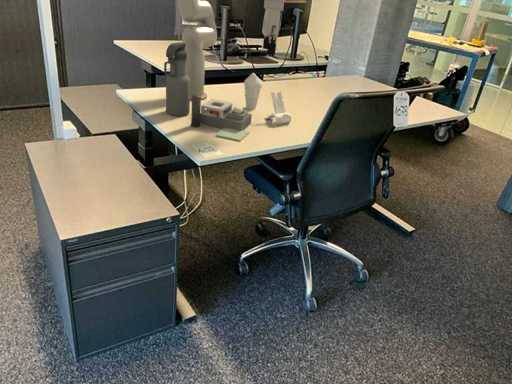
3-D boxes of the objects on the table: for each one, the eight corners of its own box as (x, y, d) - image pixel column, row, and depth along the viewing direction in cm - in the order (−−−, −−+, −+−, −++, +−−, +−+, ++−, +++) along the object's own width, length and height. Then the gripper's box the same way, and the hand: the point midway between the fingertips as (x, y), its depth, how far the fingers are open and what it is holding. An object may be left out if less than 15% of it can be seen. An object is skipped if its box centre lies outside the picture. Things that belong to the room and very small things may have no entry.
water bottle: (178, 118, 172) (179, 47, 158) (160, 112, 176) (159, 42, 162) (194, 113, 179) (196, 44, 166) (176, 107, 184) (177, 40, 170)
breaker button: (210, 117, 170) (210, 110, 169) (213, 114, 174) (214, 107, 172) (219, 119, 170) (219, 112, 168) (222, 116, 173) (222, 109, 171)
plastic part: (276, 126, 175) (279, 99, 170) (262, 118, 182) (265, 92, 177) (290, 124, 179) (294, 97, 174) (276, 116, 186) (280, 90, 181)
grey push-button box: (198, 123, 169) (199, 105, 165) (210, 115, 179) (211, 98, 175) (241, 132, 164) (242, 114, 161) (250, 123, 175) (252, 106, 171)
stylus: (189, 126, 165) (190, 96, 159) (193, 123, 168) (194, 94, 162) (197, 128, 164) (198, 97, 159) (201, 125, 167) (202, 95, 161)
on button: (232, 113, 167) (232, 108, 166) (235, 110, 170) (235, 106, 169) (240, 114, 166) (240, 110, 165) (243, 112, 169) (244, 107, 168)
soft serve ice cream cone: (248, 103, 199) (251, 69, 192) (263, 107, 196) (267, 73, 188) (238, 107, 193) (241, 72, 185) (254, 111, 189) (257, 75, 182)
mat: (215, 136, 158) (215, 134, 158) (225, 128, 167) (225, 126, 167) (240, 141, 156) (240, 139, 156) (249, 133, 165) (249, 131, 164)
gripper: (260, 2, 169) (256, 46, 177) (268, 6, 154) (263, 55, 162) (278, 4, 170) (273, 47, 179) (288, 8, 156) (282, 56, 164)
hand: (268, 51), depth 170 cm, fingers open, 9 cm apart
